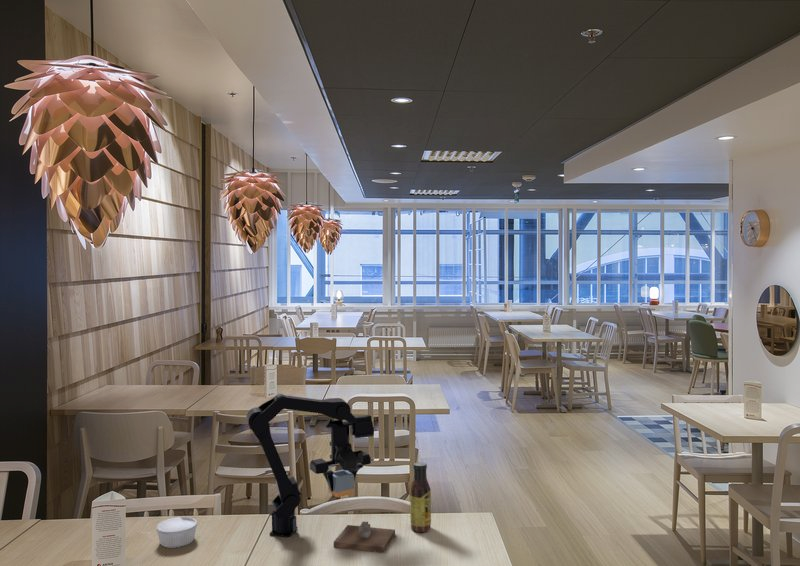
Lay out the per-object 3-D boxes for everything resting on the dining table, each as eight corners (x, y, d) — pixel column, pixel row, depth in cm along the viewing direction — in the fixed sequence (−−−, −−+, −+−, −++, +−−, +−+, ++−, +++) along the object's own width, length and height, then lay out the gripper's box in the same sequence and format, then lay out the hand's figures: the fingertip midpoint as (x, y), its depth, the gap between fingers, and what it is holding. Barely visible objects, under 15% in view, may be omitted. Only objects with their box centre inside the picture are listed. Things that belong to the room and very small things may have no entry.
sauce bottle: (429, 533, 189) (428, 468, 189) (408, 532, 190) (407, 467, 190) (432, 524, 196) (431, 461, 195) (412, 523, 197) (411, 460, 196)
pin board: (333, 547, 181) (333, 528, 181) (347, 529, 193) (347, 512, 193) (383, 552, 177) (383, 533, 177) (395, 534, 189) (394, 517, 189)
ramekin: (205, 537, 189) (205, 519, 189) (177, 553, 179) (177, 534, 179) (177, 531, 194) (176, 514, 194) (148, 546, 184) (148, 528, 184)
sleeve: (336, 497, 193) (336, 478, 193) (328, 491, 198) (328, 472, 198) (354, 493, 196) (353, 474, 196) (345, 487, 201) (345, 469, 201)
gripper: (322, 451, 185) (323, 503, 186) (378, 441, 194) (379, 491, 195) (308, 442, 195) (309, 492, 195) (362, 433, 204) (363, 480, 205)
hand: (341, 489), depth 197 cm, fingers closed on sleeve, 6 cm apart
